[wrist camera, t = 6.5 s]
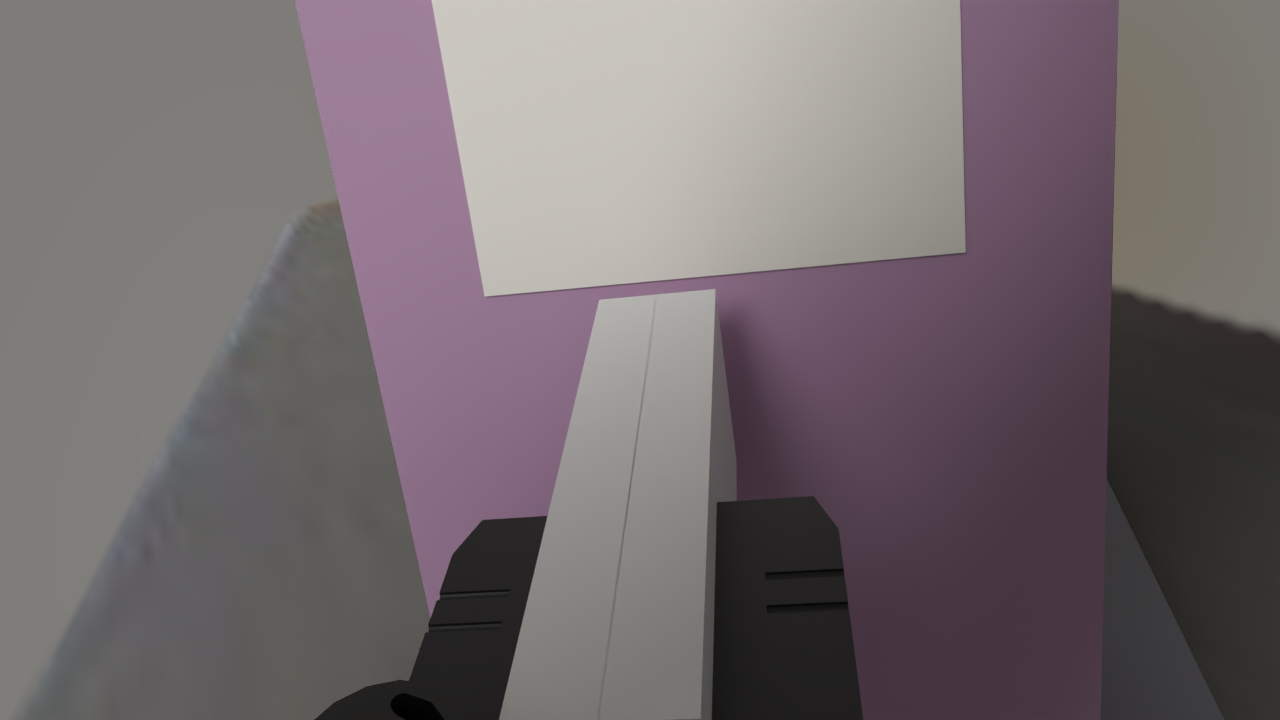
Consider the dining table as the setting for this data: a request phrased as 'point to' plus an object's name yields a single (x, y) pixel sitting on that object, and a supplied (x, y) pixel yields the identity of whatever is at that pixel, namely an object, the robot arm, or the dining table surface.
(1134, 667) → the mat
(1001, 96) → the box
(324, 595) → the dining table surface
